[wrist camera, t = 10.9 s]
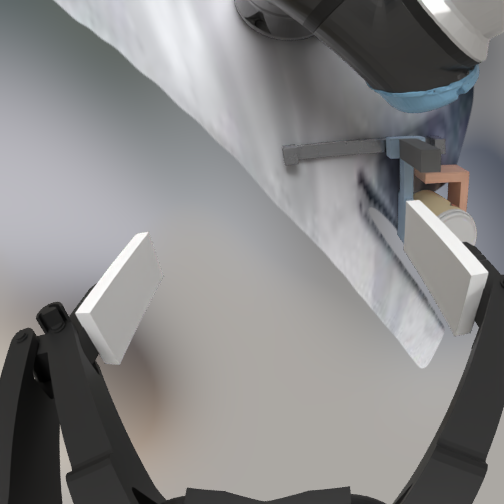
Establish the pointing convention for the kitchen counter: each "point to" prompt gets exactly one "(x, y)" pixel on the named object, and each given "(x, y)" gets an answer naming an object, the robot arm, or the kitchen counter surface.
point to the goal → (450, 183)
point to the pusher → (411, 167)
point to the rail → (345, 148)
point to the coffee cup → (449, 215)
